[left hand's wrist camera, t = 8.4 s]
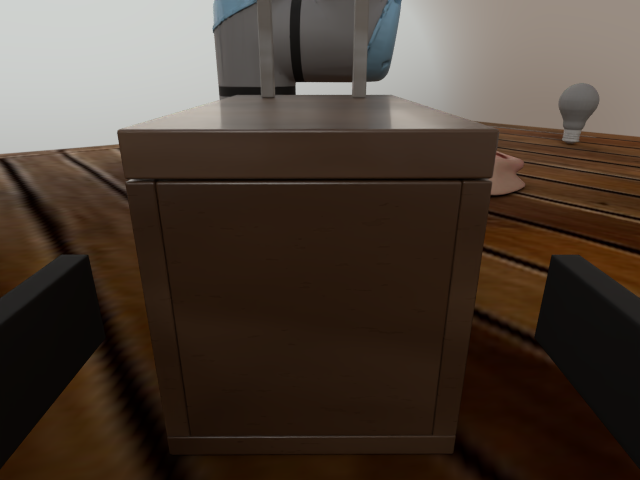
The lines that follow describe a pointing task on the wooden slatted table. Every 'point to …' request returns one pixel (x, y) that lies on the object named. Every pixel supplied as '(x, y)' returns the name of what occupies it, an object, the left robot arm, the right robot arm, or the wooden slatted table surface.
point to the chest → (310, 310)
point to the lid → (309, 132)
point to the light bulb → (577, 109)
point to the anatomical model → (506, 174)
